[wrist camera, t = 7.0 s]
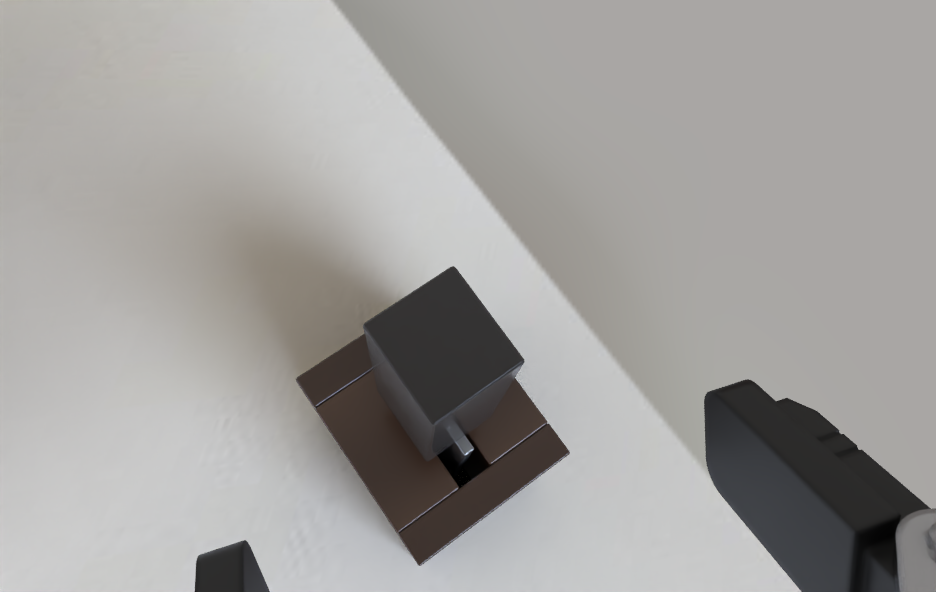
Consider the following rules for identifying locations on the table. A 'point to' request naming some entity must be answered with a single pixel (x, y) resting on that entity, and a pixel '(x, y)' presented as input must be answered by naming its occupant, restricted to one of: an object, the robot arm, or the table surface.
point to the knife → (441, 365)
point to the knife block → (403, 467)
